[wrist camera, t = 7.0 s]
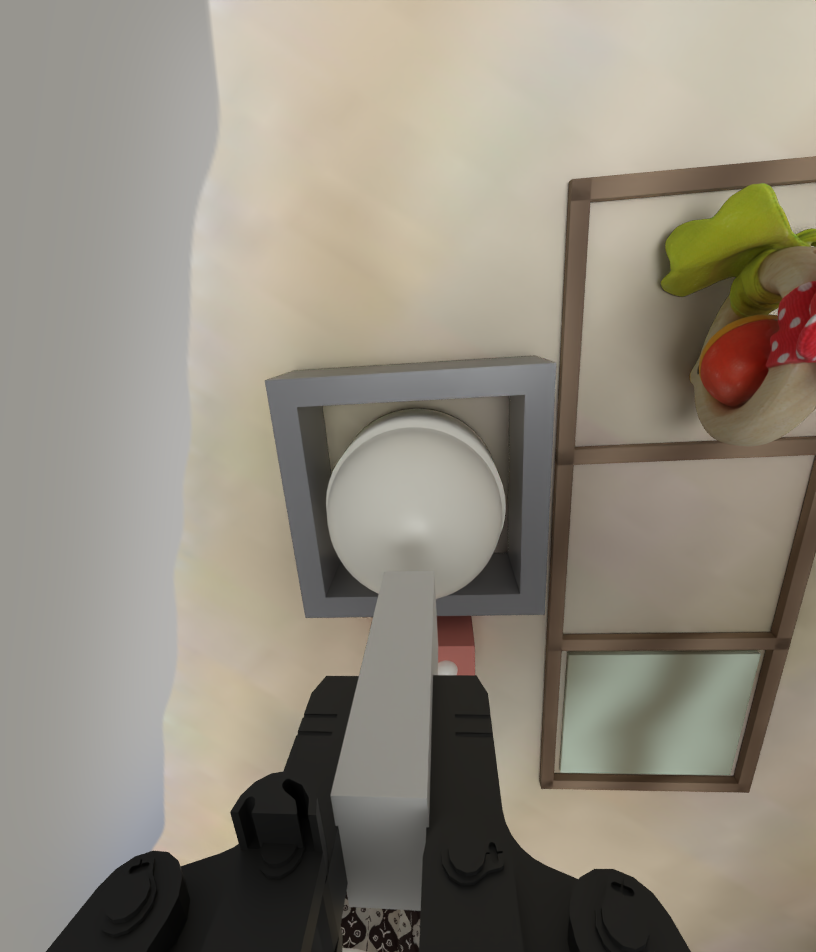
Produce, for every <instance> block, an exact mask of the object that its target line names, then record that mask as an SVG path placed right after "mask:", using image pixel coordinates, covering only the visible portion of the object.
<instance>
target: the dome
mask: <svg viewBox="0 0 816 952" xmlns="http://www.w3.org/2000/svg"><path fill="white" fill-rule="evenodd" d="M326 510H327V523H328V529H329V534H330V538H331V541H332V544H333V547H334V549H335V551H336V553H337V555H338V557H339V559H340V560H341V562H342V563H343V565H344V566H345V568H346V569H347V570H348V571H349V573H350V574H351V575H352V576H353V577H354V578H355V579H357V580H358V581H359V582H360V583H361V584H363V585H364V586H366V587H367V588H369V589H370V590H372V591H374V592H376V593H378V594H379V591H380V586H381V582H382V578H383V574H384V572H390V571H434V574H435V594H436V599H438V598H441V597H445V596H447V595H450V594H452V593H454V592H456V591H458V590H460V589H461V588H463V587H464V586H466V585H467V584H468V583H470V582H471V581H472V580H473V579H474V578H475V577H476V576H477V575H478V574H479V573H480V572H481V571H482V570H483V569H484V567H485V566H486V565H487V563H488V562H489V560H490V558H491V556H492V554H493V552H494V550H495V548H496V546H497V543H498V540H499V536H500V534H501V531H502V529H503V524H504V520H505V510H506V503H505V494H504V489H503V485H502V482H501V479H500V476H499V474H498V471H497V469H496V466H495V464H494V461H493V459H492V456H491V454H490V452H489V450H488V449H487V447H486V445H485V444H484V442H483V441H482V439H481V438H480V437H479V436H478V435H477V434H476V433H475V432H474V431H473V430H472V429H471V428H470V427H469V426H467V425H466V424H465V423H463V422H462V421H460V420H458V419H457V418H455V417H452V416H450V415H448V414H445V413H442V412H438V411H435V410H428V409H406V410H400V411H396V412H392V413H390V414H387V415H385V416H382V417H380V418H378V419H377V420H375V421H373V422H372V423H370V424H369V425H368V426H366V427H365V428H364V429H363V430H362V431H361V432H360V433H359V434H358V435H357V436H356V438H355V439H354V440H353V442H352V443H351V444H350V446H349V447H348V449H347V450H346V451H345V453H344V454H343V456H342V457H341V458H340V460H339V461H338V463H337V465H336V467H335V468H334V470H333V472H332V475H331V478H330V480H329V484H328V489H327V496H326Z"/></svg>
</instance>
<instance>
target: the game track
mask: <svg viewBox="0 0 816 952" xmlns="http://www.w3.org/2000/svg"><path fill="white" fill-rule="evenodd" d="M811 182H816V156H814V157H804V158H793V159H782V160H772V161H761V162H751V163H740V164H729V165H719V166H708V167H697V168H687V169H676V170H666V171H655V172H644V173H634V174H623V175H612V176H602V177H591V178H581V179H572V180H571V181H570V182H569V189H568V209H567V230H566V250H565V270H564V291H563V311H562V332H561V352H560V373H559V393H558V413H557V434H556V454H555V475H554V495H553V516H552V536H551V557H550V577H549V597H548V618H547V638H546V659H545V679H544V700H543V720H542V740H541V761H540V786H541V789H586V790H638V791H691V792H744V793H749V791H750V787H751V784H752V780H753V777H754V773H755V769H756V766H757V762H758V759H759V755H760V751H761V748H762V744H763V740H764V737H765V733H766V730H767V726H768V722H769V719H770V715H771V712H772V708H773V704H774V701H775V697H776V693H777V690H778V686H779V683H780V679H781V675H782V672H783V668H784V665H785V661H786V657H787V654H788V650H789V647H790V643H791V639H792V636H793V632H794V628H795V625H796V621H797V618H798V614H799V610H800V607H801V603H802V600H803V596H804V592H805V589H806V585H807V581H808V578H809V574H810V571H811V567H812V563H813V560H814V556H815V553H816V457H815V461H814V465H813V469H812V472H811V476H810V480H809V484H808V488H807V492H806V496H805V500H804V504H803V508H802V512H801V515H800V519H799V523H798V527H797V531H796V535H795V539H794V543H793V547H792V551H791V555H790V558H789V562H788V566H787V570H786V574H785V578H784V582H783V586H782V590H781V594H780V598H779V602H778V605H777V609H776V613H775V617H774V621H773V625H772V629H771V632H757V633H655V634H563V623H564V607H565V591H566V576H567V560H568V544H569V529H570V513H571V497H572V481H573V466H574V465H580V464H604V463H628V462H653V461H677V460H701V459H725V458H750V457H774V456H798V455H816V436H809V437H787V438H778V439H776V440H774V441H772V442H770V443H767V444H763V445H759V446H737V445H731V444H726V443H723V442H720V441H697V442H674V443H652V444H630V445H607V446H585V447H575V434H576V419H577V403H578V387H579V372H580V356H581V340H582V325H583V309H584V293H585V278H586V262H587V246H588V231H589V215H590V202H599V201H610V200H622V199H633V198H644V197H655V196H666V195H677V194H689V193H700V192H711V191H722V190H733V189H744V188H745V187H747V186H749V185H752V184H761V183H764V184H767V185H769V186H778V185H789V184H800V183H811ZM630 650H747V651H630ZM757 650H766V652H765V656H764V660H763V664H762V668H761V672H760V676H759V680H758V684H757V688H756V691H755V695H754V699H753V703H752V707H751V711H750V715H749V719H748V723H747V727H746V731H745V734H744V738H743V742H742V746H741V750H740V754H739V758H738V762H737V766H736V770H735V774H734V776H674V775H730V774H731V770H732V766H733V762H734V758H735V754H736V750H737V746H738V742H739V738H740V734H741V730H742V726H743V722H744V718H745V714H746V710H747V706H748V702H749V698H750V694H751V690H752V686H753V682H754V678H755V674H756V670H757V666H758V662H759V658H760V653H759V652H758V651H757ZM562 651H594V652H567V665H566V679H565V694H564V708H563V723H562V737H561V751H560V766H559V769H560V773H610V774H554V764H555V748H556V732H557V717H558V701H559V685H560V670H561V654H562ZM612 774H672V775H612Z"/></svg>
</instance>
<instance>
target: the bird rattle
mask: <svg viewBox="0 0 816 952" xmlns="http://www.w3.org/2000/svg"><path fill="white" fill-rule="evenodd" d="M811 246H814V247H811ZM665 250H666V253H667V256H668V258H669V261H670V269H671V271H670V272H669V273H668V274H667V275H666V276H665V277H664V278H663V280H662V281H661V286H662V288H663V290H664V291H666V292H668V293H670V294H673V295H676V296H681V297H683V296H687V295H689V294H691V293H694V292H696V291H698V290H701V289H703V288H706V287H708V286H710V285H712V284H714V283H716V282H718V281H721V280H724V279H726V278H729V277H736V278H735V279H734V281H733V283H732V285H731V290H730V294H729V296H728V297H727V299H726V300H725V302H724V303H723V305H722V307H721V308H720V310H719V312H718V314H717V316H716V318H715V320H714V322H713V323H712V326H711V328H710V330H709V332H708V334H707V337H706V339H705V342H704V344H703V347H702V350H701V353H700V356H699V358H698V360H697V362H696V364H695V366H694V367H693V369H692V371H691V373H690V377H689V379H690V382H691V383H692V384H693V386H694V393H695V405H696V410H697V414H698V417H699V419H700V421H701V423H702V425H703V427H704V429H705V430H706V431H707V433H708V434H709V435H710V436H711V437H713V438H714V439H716V440H718V441H720V442H723V443H726V444H731V445H737V446H759V445H763V444H767V443H770V442H772V441H774V440H776V439H778V438H780V437H782V436H784V435H786V434H787V433H789V432H790V431H791V430H793V429H794V428H795V427H797V426H798V425H799V424H800V423H801V422H802V421H803V420H805V419H806V418H807V417H808V416H809V415H810V414H811V413H812V412H813V410H814V409H815V408H816V229H807V230H804V231H802V232H800V233H798V234H794V233H793V232H792V230H791V228H790V225H789V222H788V220H787V217H786V215H785V213H784V211H783V209H782V208H781V206H780V205H779V203H778V200H777V197H776V194H775V192H774V190H773V189H772V188H771V186H769V185H767V184H764V183H761V184H752V185H749V186H747V187H745V188H744V189H742V190H740V191H739V192H737V193H735V194H734V195H732V196H731V197H730V198H729V199H728V200H727V201H726V202H725V203H724V204H723V206H722V207H721V209H720V210H719V211H718V213H717V214H716V215H715V216H714V217H712V218H710V219H701V220H693V221H690V222H686V223H684V224H682V225H680V226H678V227H677V228H676V229H675V230H674V231H673V232H672V233H671V235H670V236H669V237H668V238H667V240H666V244H665ZM778 307H779V308H778ZM777 308H778V316H776V315H768V314H769V313H770V312H772V311H773V310H775V309H777Z"/></svg>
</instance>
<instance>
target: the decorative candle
mask: <svg viewBox="0 0 816 952" xmlns="http://www.w3.org/2000/svg"><path fill="white" fill-rule="evenodd" d="M420 913H421V911H416V910H397V909H379V908H361V907H349V903H348V897H347V891H346V897H345V902H344V908H343V914H342V920H341V930H342V935H343V940H342V952H419V938H420Z"/></svg>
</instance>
